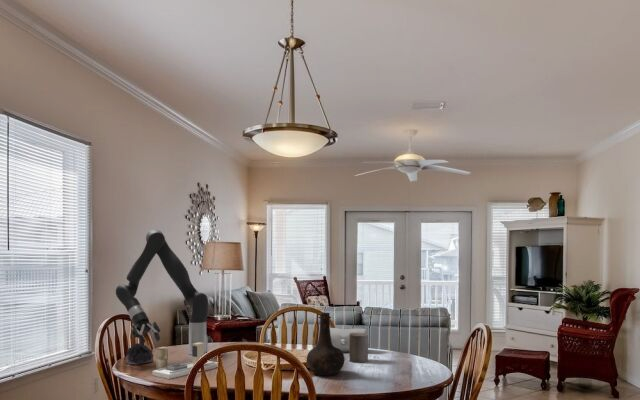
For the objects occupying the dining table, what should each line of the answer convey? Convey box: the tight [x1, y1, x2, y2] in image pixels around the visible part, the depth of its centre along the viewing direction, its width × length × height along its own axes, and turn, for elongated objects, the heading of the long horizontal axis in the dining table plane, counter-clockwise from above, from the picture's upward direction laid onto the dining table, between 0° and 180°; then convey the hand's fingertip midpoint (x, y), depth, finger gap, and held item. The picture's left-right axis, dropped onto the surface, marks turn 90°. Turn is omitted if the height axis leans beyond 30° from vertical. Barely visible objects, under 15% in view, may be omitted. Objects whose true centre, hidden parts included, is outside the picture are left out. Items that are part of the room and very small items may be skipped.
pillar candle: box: [348, 331, 369, 364], centre depth 296 cm, size 10×10×15 cm
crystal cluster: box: [125, 342, 154, 366], centre depth 296 cm, size 13×14×10 cm
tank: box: [330, 327, 369, 353], centre depth 319 cm, size 25×16×12 cm, turn 81°
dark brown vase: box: [306, 312, 345, 376], centre depth 270 cm, size 18×18×28 cm
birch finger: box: [155, 346, 169, 370], centre depth 281 cm, size 4×4×10 cm
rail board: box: [152, 342, 218, 380], centre depth 275 cm, size 30×12×12 cm, turn 142°
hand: (151, 341), depth 286 cm, fingers open, 8 cm apart
